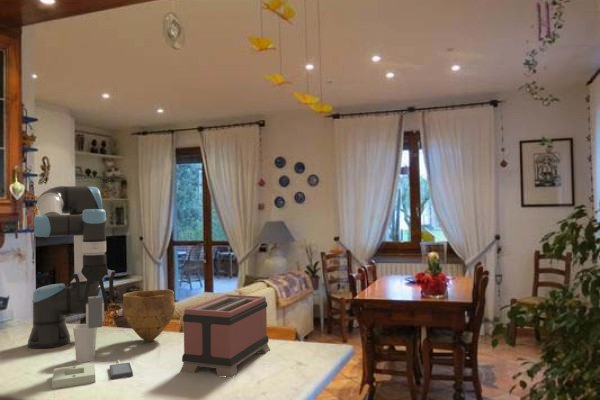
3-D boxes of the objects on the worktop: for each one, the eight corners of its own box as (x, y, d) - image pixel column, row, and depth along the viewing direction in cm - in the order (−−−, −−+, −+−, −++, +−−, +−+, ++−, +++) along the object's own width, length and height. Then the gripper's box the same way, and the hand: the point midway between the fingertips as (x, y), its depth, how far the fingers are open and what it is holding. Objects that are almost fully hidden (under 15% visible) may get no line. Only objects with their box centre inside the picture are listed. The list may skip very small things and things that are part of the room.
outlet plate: (54, 376, 158) (54, 368, 158) (94, 370, 163) (94, 362, 163) (52, 388, 147) (52, 380, 147) (95, 382, 152) (95, 373, 152)
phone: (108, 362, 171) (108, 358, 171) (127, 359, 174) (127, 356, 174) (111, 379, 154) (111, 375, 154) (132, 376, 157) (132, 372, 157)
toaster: (273, 348, 186) (273, 294, 186) (231, 378, 154) (230, 313, 154) (229, 343, 193) (228, 292, 193) (179, 372, 161) (179, 309, 161)
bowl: (112, 343, 195) (111, 293, 195) (153, 332, 212) (152, 286, 212) (145, 351, 183) (144, 298, 183) (185, 339, 200) (185, 290, 200)
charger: (88, 325, 168) (88, 296, 168) (101, 324, 170) (101, 295, 170) (88, 328, 164) (88, 298, 164) (101, 327, 166) (101, 297, 166)
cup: (88, 363, 170) (88, 329, 170) (68, 362, 172) (68, 328, 172) (102, 356, 178) (101, 323, 178) (82, 355, 179) (82, 322, 180)
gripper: (66, 256, 160) (67, 326, 160) (122, 253, 167) (122, 321, 167) (67, 254, 167) (67, 321, 167) (120, 251, 174) (120, 316, 174)
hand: (95, 321), depth 167 cm, fingers closed on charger, 4 cm apart
